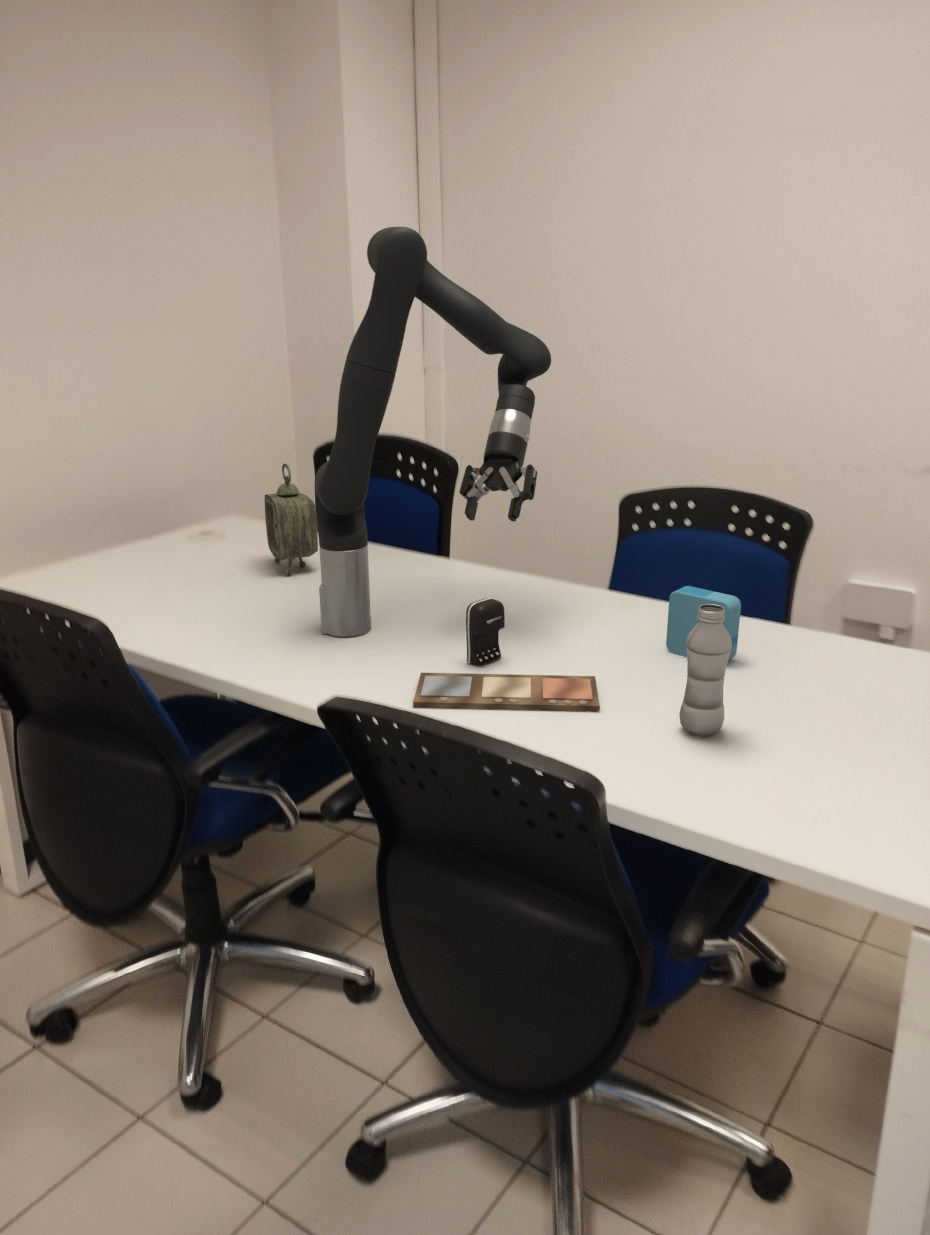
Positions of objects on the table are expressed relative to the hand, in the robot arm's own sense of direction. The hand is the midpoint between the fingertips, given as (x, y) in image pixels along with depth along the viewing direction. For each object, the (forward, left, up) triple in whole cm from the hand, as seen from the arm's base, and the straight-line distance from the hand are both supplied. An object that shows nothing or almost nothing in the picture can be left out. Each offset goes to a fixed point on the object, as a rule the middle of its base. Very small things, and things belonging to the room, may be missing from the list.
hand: (490, 519), depth 175 cm
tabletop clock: (-48, +45, -24) cm, 70 cm away
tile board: (+4, -24, -24) cm, 34 cm away
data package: (+39, -5, -24) cm, 46 cm away
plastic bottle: (+34, -36, -24) cm, 55 cm away
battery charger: (0, -10, -24) cm, 26 cm away
